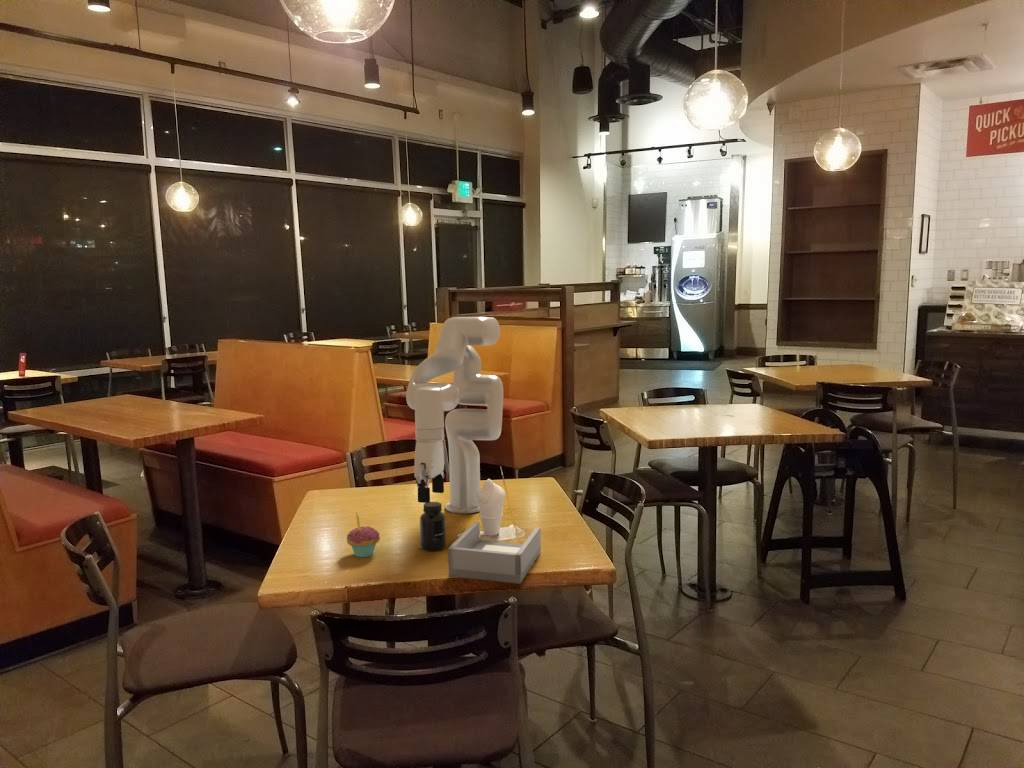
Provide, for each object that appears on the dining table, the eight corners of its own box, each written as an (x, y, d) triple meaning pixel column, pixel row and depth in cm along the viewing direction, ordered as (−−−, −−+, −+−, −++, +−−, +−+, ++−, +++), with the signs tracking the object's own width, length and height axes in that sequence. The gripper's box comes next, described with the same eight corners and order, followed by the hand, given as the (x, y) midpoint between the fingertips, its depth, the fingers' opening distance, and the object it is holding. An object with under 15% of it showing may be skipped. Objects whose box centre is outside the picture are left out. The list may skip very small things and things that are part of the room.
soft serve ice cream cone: (492, 526, 210) (491, 472, 208) (512, 533, 204) (511, 478, 202) (470, 533, 204) (469, 478, 202) (490, 540, 198) (489, 484, 196)
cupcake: (364, 562, 184) (362, 517, 182) (340, 556, 189) (338, 511, 187) (387, 551, 191) (385, 508, 190) (363, 545, 196) (361, 503, 194)
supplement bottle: (441, 552, 190) (440, 508, 188) (417, 551, 191) (415, 507, 190) (449, 543, 197) (448, 500, 195) (425, 541, 198) (424, 499, 196)
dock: (475, 546, 194) (475, 521, 193) (540, 553, 189) (540, 527, 188) (448, 576, 175) (448, 548, 174) (520, 583, 170) (520, 555, 169)
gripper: (429, 427, 199) (430, 488, 201) (402, 439, 182) (404, 505, 184) (454, 428, 197) (455, 489, 199) (430, 440, 180) (431, 507, 182)
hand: (431, 497), depth 192 cm, fingers open, 9 cm apart
